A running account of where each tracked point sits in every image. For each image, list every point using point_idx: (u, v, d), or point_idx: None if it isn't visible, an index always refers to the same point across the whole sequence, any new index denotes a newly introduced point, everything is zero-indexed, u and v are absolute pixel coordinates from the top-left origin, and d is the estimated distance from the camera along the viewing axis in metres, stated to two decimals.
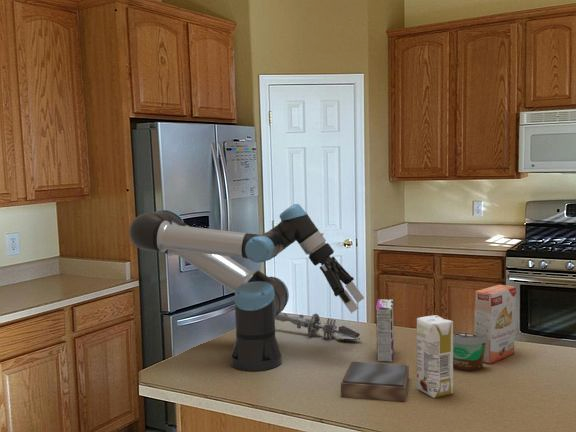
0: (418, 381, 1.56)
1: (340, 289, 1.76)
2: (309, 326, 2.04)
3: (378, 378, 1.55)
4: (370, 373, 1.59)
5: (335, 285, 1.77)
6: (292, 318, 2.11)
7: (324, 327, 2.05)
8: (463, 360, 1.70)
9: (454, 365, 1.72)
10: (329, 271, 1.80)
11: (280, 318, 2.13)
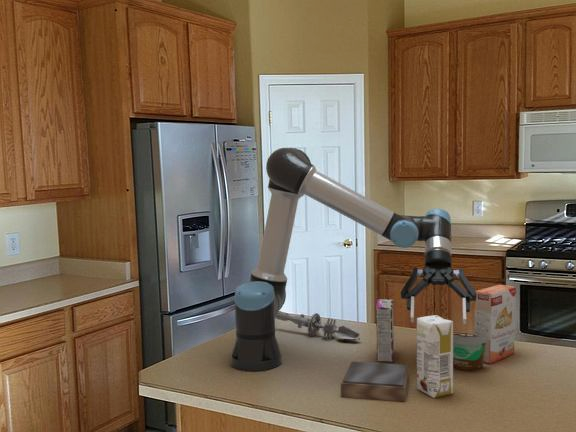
0: (418, 381, 1.56)
1: None
2: (309, 326, 2.04)
3: (378, 378, 1.55)
4: (370, 373, 1.59)
5: None
6: (293, 317, 2.11)
7: (324, 327, 2.05)
8: (463, 360, 1.70)
9: (454, 365, 1.72)
10: None
11: (281, 317, 2.14)
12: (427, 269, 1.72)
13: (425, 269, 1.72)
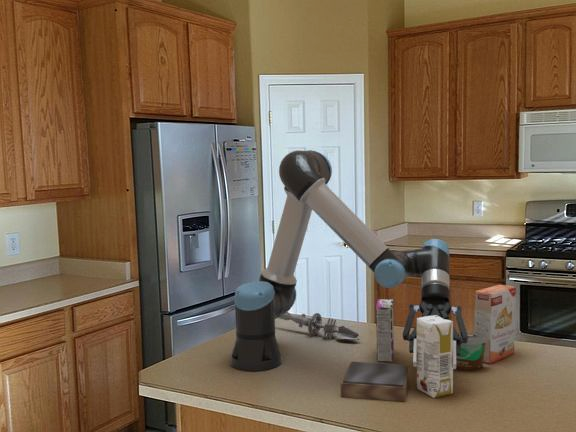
0: (418, 381, 1.56)
1: (467, 341, 1.56)
2: (309, 325, 2.05)
3: (378, 378, 1.55)
4: (370, 373, 1.59)
5: None
6: (294, 317, 2.12)
7: (324, 327, 2.05)
8: (463, 360, 1.70)
9: None
10: None
11: (283, 317, 2.15)
12: (423, 304, 1.63)
13: (421, 304, 1.63)
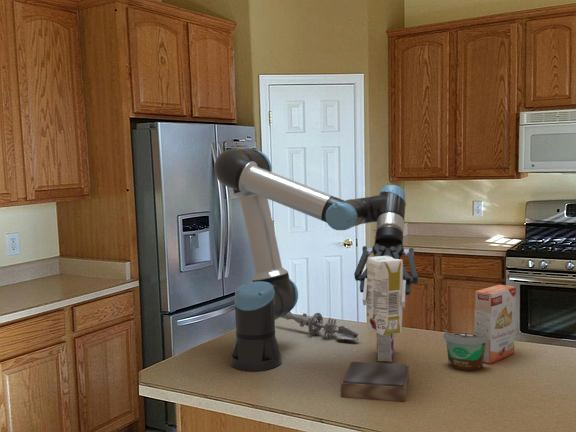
0: (368, 320, 1.57)
1: (417, 281, 1.58)
2: (310, 325, 2.05)
3: (378, 378, 1.55)
4: (370, 373, 1.59)
5: None
6: (296, 316, 2.13)
7: (325, 326, 2.05)
8: (463, 360, 1.70)
9: (454, 365, 1.72)
10: None
11: (285, 316, 2.16)
12: (376, 246, 1.64)
13: (374, 246, 1.65)
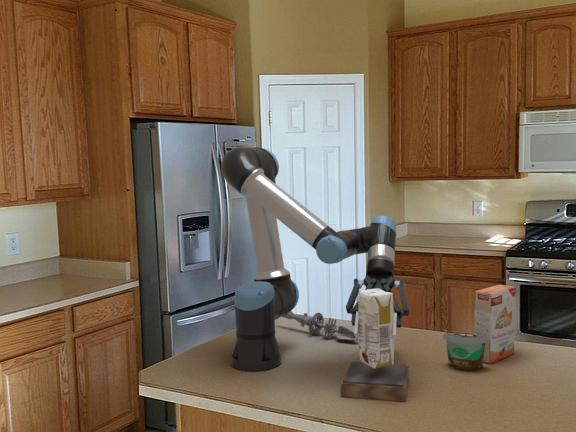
0: (360, 353, 1.59)
1: (408, 314, 1.59)
2: (310, 325, 2.06)
3: (378, 378, 1.55)
4: (370, 373, 1.59)
5: None
6: (296, 316, 2.13)
7: (325, 326, 2.05)
8: (463, 360, 1.70)
9: (454, 365, 1.72)
10: None
11: (286, 316, 2.17)
12: (368, 278, 1.66)
13: (366, 279, 1.66)
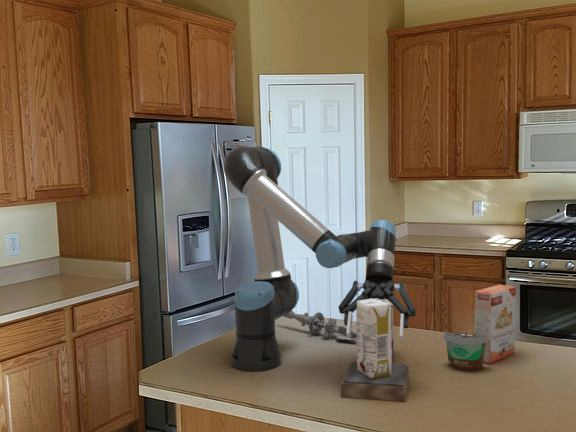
0: (358, 363, 1.59)
1: (415, 314, 1.59)
2: (310, 324, 2.06)
3: (378, 378, 1.55)
4: None
5: None
6: (297, 316, 2.14)
7: (325, 326, 2.06)
8: (463, 360, 1.70)
9: (454, 365, 1.72)
10: None
11: (287, 315, 2.17)
12: (367, 283, 1.66)
13: (365, 283, 1.66)
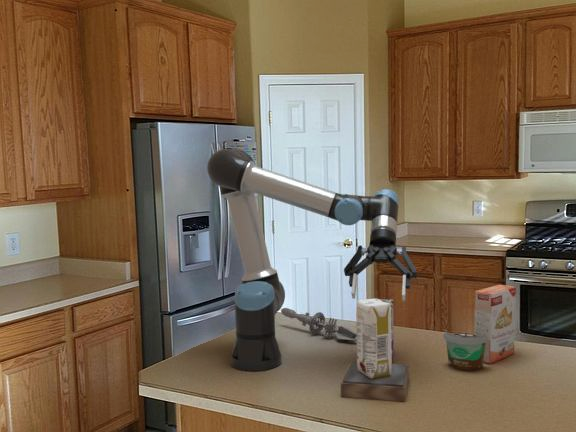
0: (358, 363, 1.59)
1: (416, 276, 1.68)
2: (310, 324, 2.06)
3: (378, 378, 1.55)
4: None
5: None
6: (298, 315, 2.14)
7: (325, 326, 2.06)
8: (463, 360, 1.70)
9: (454, 365, 1.72)
10: None
11: (288, 315, 2.18)
12: (371, 247, 1.75)
13: (369, 247, 1.75)
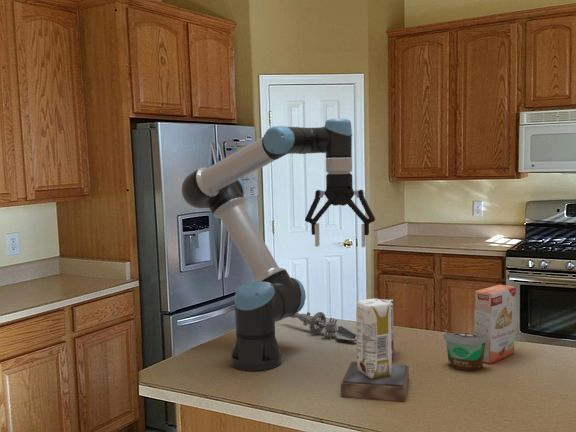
0: (358, 363, 1.59)
1: None
2: (311, 324, 2.07)
3: (378, 378, 1.55)
4: None
5: (372, 213, 1.74)
6: (300, 315, 2.15)
7: (326, 326, 2.06)
8: (463, 360, 1.70)
9: (454, 365, 1.72)
10: None
11: None
12: (328, 192, 1.75)
13: (326, 192, 1.75)
